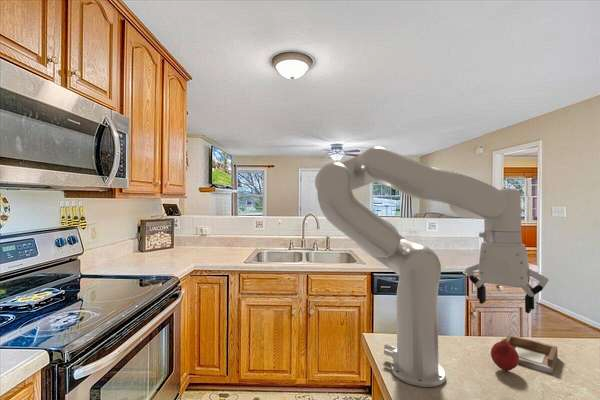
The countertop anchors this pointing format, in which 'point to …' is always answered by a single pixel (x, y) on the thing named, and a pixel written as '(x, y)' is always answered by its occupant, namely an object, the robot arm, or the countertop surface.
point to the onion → (504, 355)
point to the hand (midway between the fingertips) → (504, 306)
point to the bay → (534, 353)
